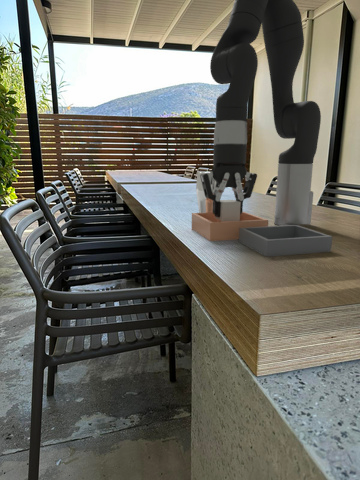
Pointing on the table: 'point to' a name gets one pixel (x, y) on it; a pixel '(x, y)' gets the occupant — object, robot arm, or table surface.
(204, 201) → the silver metal tumbler
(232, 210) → the off-white cube block
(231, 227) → the terracotta tray
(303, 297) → the table surface
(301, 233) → the charcoal bin
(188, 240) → the table surface
